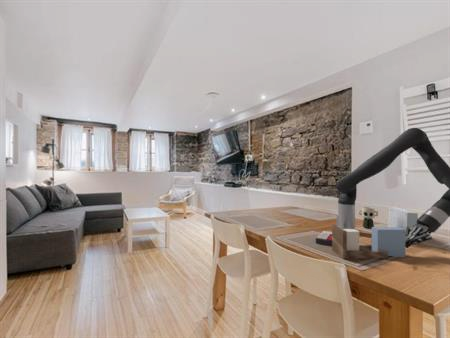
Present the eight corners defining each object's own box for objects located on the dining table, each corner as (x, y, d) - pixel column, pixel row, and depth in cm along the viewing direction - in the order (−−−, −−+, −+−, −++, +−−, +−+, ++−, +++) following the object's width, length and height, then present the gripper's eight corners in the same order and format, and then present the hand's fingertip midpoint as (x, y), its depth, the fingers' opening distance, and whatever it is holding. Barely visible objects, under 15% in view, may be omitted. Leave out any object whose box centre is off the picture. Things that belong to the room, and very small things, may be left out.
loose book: (398, 253, 109) (398, 227, 109) (405, 257, 105) (405, 229, 105) (371, 253, 110) (371, 227, 109) (377, 256, 105) (377, 229, 105)
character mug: (358, 227, 156) (358, 208, 156) (358, 225, 162) (358, 206, 162) (378, 229, 151) (378, 209, 151) (377, 227, 157) (377, 207, 157)
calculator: (315, 237, 124) (322, 229, 136) (315, 245, 124) (322, 237, 136) (338, 240, 117) (343, 232, 129) (338, 249, 117) (343, 240, 130)
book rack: (374, 250, 113) (374, 225, 113) (389, 259, 102) (389, 231, 102) (332, 250, 113) (332, 225, 113) (343, 259, 102) (343, 231, 102)
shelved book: (354, 252, 110) (354, 229, 110) (359, 256, 105) (359, 231, 105) (339, 252, 110) (339, 228, 110) (343, 256, 105) (343, 231, 105)
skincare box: (418, 243, 123) (418, 213, 123) (406, 243, 124) (406, 212, 124) (397, 233, 144) (397, 206, 144) (387, 232, 145) (387, 206, 145)
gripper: (414, 210, 113) (388, 236, 114) (439, 216, 100) (409, 245, 100) (426, 221, 113) (399, 247, 114) (452, 229, 100) (422, 257, 100)
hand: (404, 246), depth 107 cm, fingers closed
